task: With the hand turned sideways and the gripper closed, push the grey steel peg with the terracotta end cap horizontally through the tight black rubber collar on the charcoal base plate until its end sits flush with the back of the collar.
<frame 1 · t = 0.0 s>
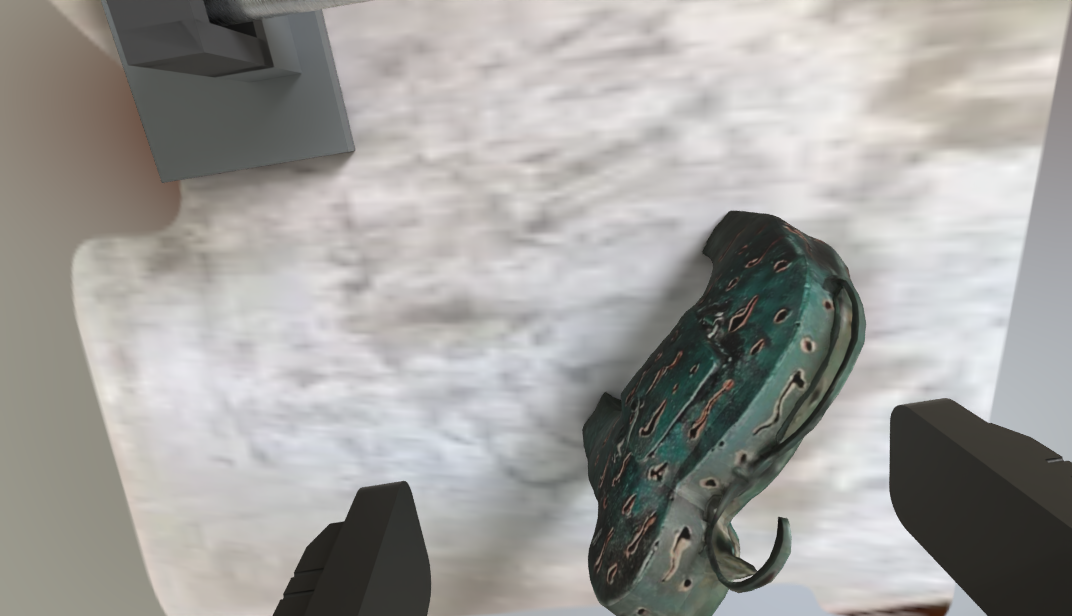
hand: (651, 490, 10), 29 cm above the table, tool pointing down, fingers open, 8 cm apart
base plate: (268, 13, 34), on the table
ceramic cat: (661, 337, 41), on the table
rubber collar: (268, 13, 34), resting on base plate
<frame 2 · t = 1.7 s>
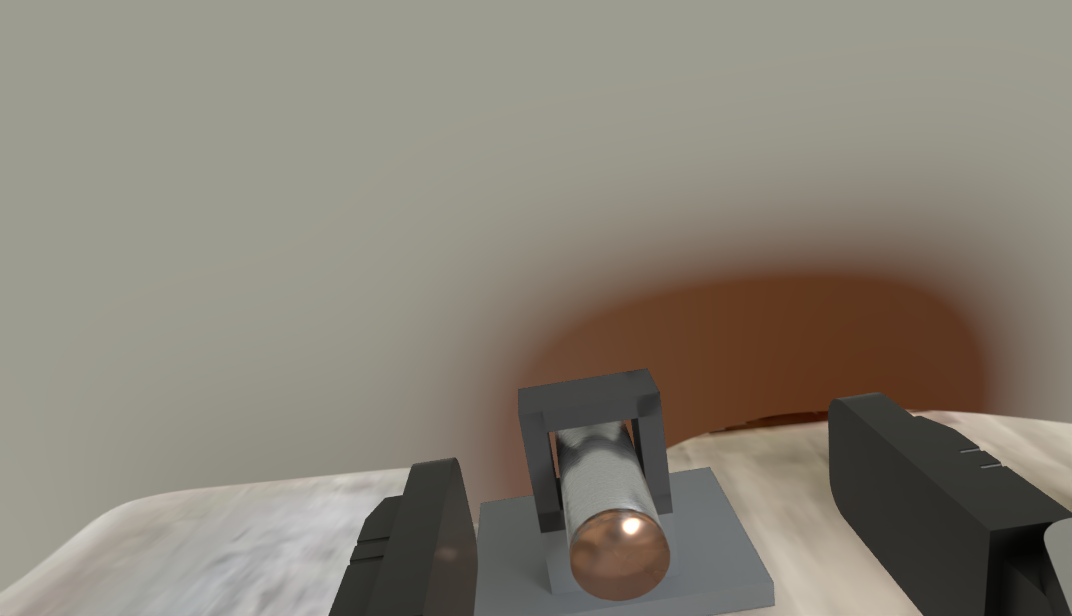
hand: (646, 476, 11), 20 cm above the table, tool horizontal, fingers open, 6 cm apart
steel peg: (602, 482, 30), point 9 cm above the table, slide at 7.0 cm
base plate: (615, 587, 35), on the table
rubber collar: (615, 587, 35), resting on base plate
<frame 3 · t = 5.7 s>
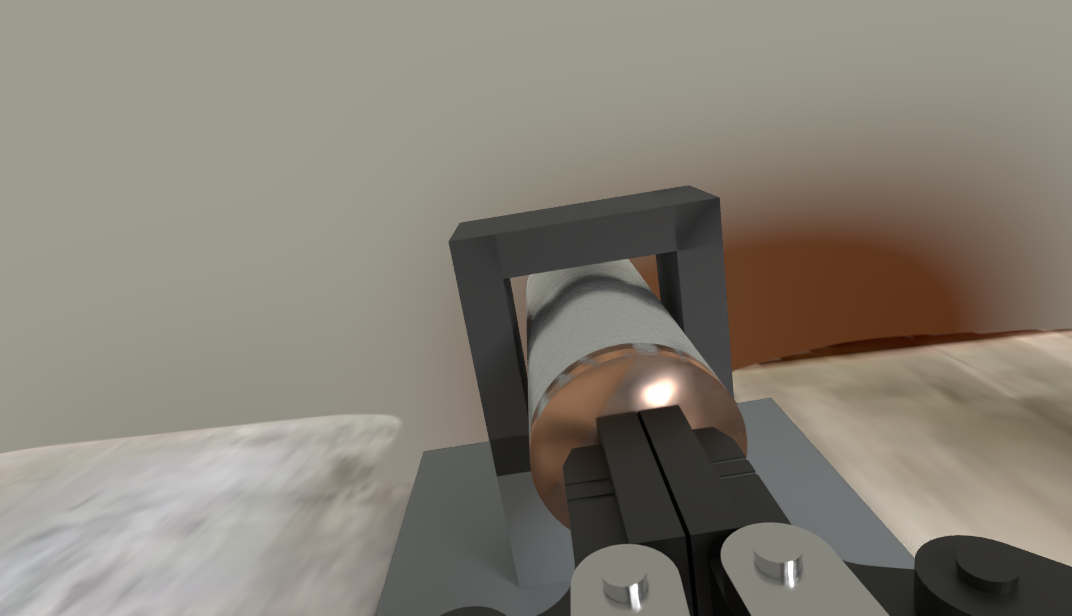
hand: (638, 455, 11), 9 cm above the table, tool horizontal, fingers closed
steel peg: (601, 349, 17), point 9 cm above the table, slide at 5.7 cm, touching gripper
base plate: (629, 576, 21), on the table
rubber collar: (629, 576, 21), resting on base plate
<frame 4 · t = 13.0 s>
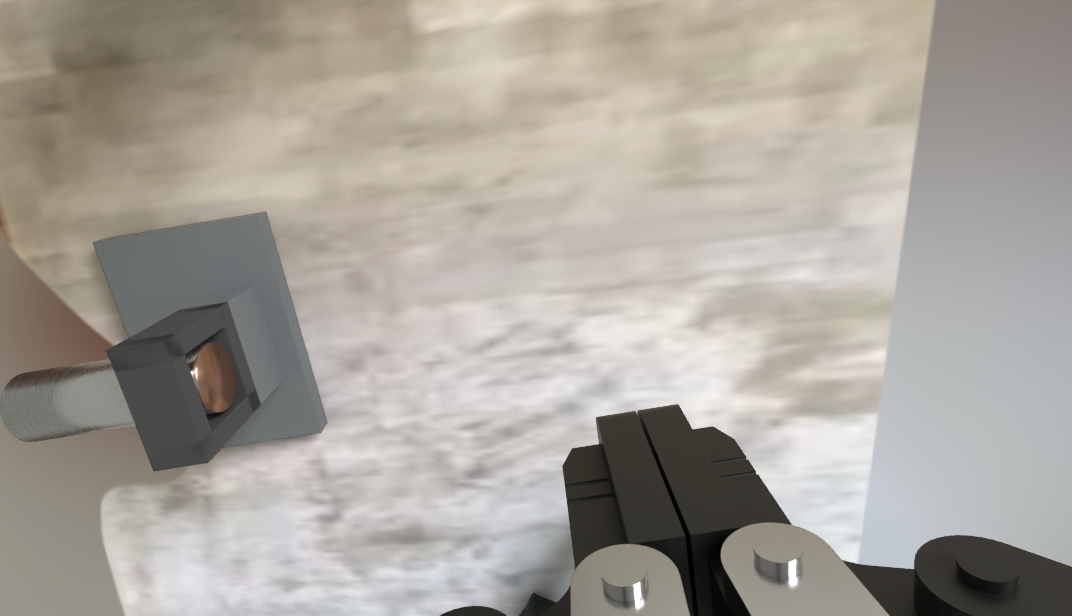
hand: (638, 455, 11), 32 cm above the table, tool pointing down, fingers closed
steel peg: (124, 391, 35), point 9 cm above the table, slide at 0.0 cm
base plate: (257, 329, 44), on the table
ceramic cat: (578, 551, 50), on the table
rubber collar: (257, 329, 44), resting on base plate
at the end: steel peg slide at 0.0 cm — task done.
